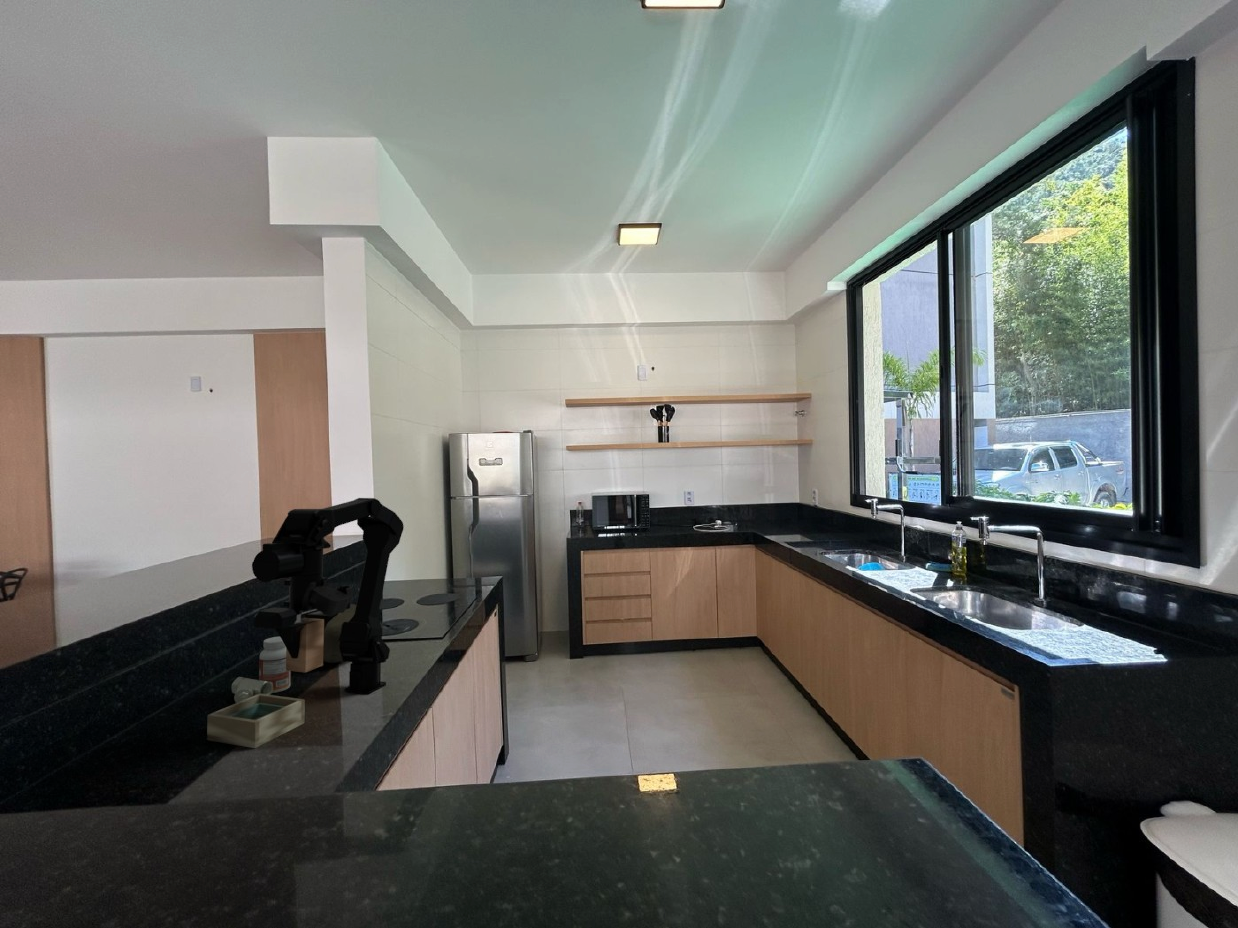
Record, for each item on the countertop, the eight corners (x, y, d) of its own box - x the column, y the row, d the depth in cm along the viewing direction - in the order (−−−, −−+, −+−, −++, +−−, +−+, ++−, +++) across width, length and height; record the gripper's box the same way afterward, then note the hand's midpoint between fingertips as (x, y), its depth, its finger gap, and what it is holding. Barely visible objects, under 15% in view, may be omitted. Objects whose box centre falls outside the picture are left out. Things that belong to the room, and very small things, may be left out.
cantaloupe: (293, 667, 147) (294, 606, 147) (339, 651, 160) (340, 596, 160) (335, 674, 142) (336, 612, 142) (380, 657, 155) (380, 600, 155)
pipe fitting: (244, 709, 123) (273, 695, 129) (243, 690, 122) (272, 677, 129) (217, 704, 125) (246, 690, 132) (215, 686, 125) (245, 673, 131)
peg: (303, 663, 117) (304, 617, 118) (323, 665, 116) (324, 619, 116) (285, 670, 113) (286, 622, 113) (305, 672, 112) (306, 624, 112)
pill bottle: (266, 684, 135) (267, 635, 135) (295, 683, 136) (296, 635, 136) (253, 694, 129) (254, 643, 129) (283, 693, 130) (284, 642, 130)
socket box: (259, 716, 118) (259, 693, 118) (304, 722, 115) (304, 699, 115) (207, 739, 107) (207, 714, 107) (255, 748, 104) (255, 722, 104)
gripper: (304, 583, 104) (301, 673, 104) (373, 568, 122) (371, 645, 122) (252, 580, 107) (250, 667, 106) (328, 566, 125) (326, 640, 124)
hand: (304, 654), depth 115 cm, fingers closed on peg, 4 cm apart
